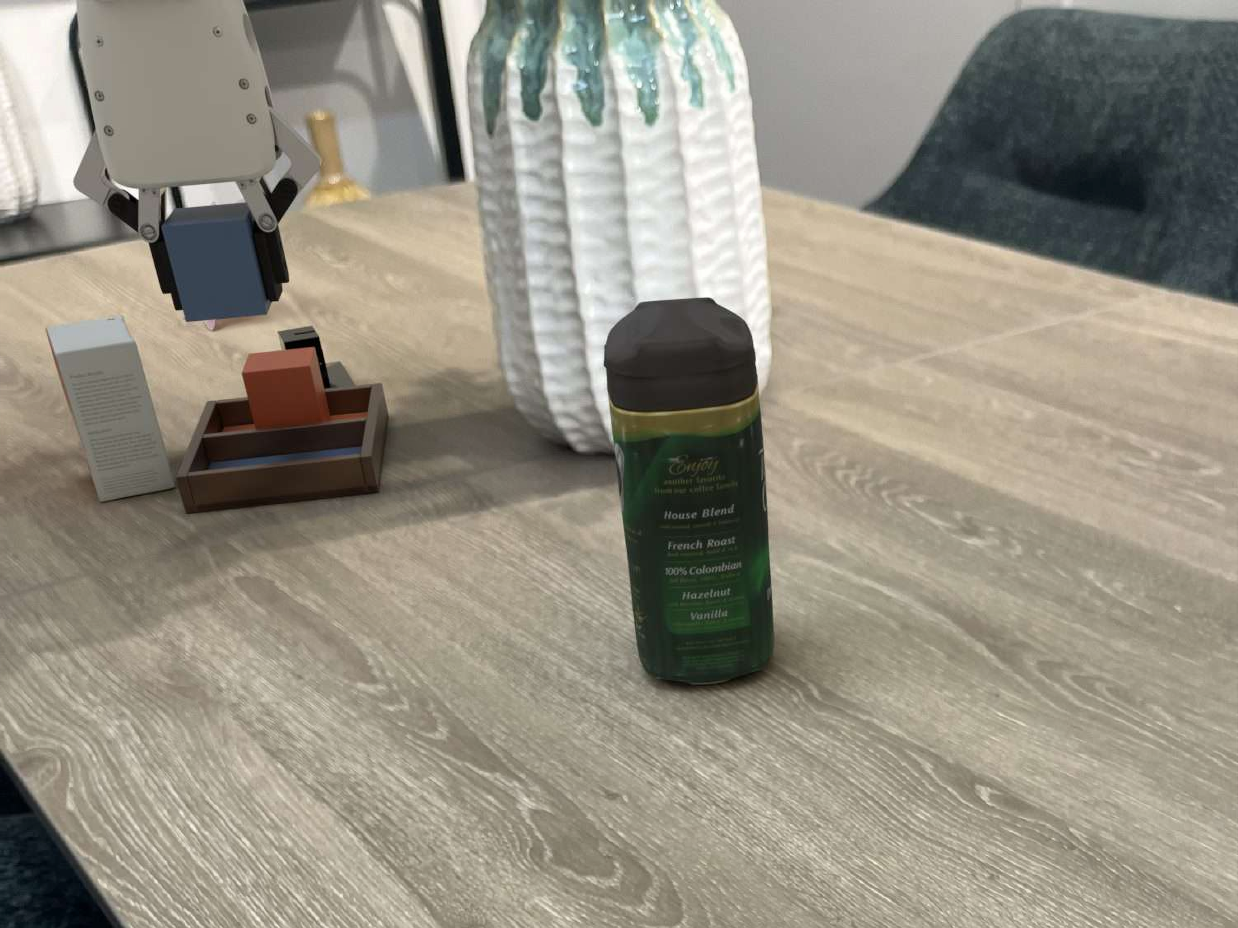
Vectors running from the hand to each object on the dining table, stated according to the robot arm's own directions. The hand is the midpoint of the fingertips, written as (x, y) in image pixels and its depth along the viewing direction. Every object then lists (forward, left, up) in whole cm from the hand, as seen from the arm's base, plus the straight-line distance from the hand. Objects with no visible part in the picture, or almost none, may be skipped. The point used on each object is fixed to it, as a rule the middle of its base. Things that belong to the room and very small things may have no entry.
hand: (229, 297), depth 108 cm
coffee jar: (+26, -28, -15) cm, 41 cm away
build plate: (-1, +32, -15) cm, 36 cm away
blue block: (0, 0, -1) cm, 1 cm away
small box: (-13, +14, -15) cm, 24 cm away
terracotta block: (-1, +18, -14) cm, 23 cm away
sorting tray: (-1, +14, -15) cm, 21 cm away
